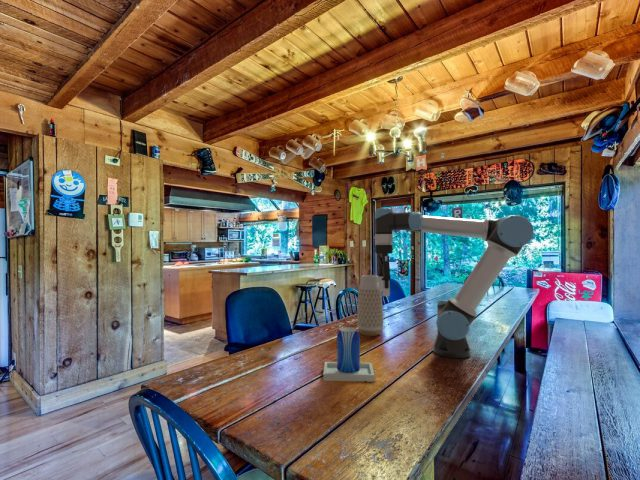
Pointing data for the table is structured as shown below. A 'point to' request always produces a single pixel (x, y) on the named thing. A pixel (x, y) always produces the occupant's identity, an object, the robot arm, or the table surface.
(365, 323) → the vase
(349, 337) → the beer can
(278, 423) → the table surface
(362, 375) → the tray
